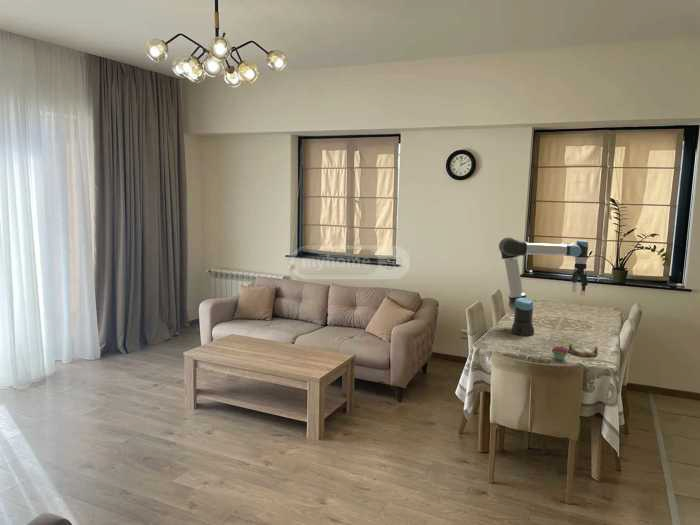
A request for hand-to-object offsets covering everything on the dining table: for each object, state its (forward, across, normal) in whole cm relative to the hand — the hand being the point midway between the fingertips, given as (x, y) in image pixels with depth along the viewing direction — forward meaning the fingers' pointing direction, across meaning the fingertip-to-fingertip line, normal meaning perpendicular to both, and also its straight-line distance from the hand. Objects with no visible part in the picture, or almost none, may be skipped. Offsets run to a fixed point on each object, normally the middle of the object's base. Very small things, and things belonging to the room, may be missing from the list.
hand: (578, 293), depth 364 cm
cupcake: (+27, -66, +38) cm, 81 cm away
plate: (+26, -55, +19) cm, 64 cm away
